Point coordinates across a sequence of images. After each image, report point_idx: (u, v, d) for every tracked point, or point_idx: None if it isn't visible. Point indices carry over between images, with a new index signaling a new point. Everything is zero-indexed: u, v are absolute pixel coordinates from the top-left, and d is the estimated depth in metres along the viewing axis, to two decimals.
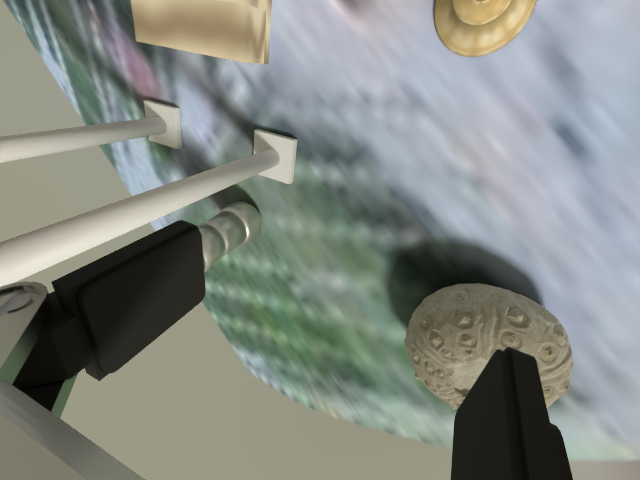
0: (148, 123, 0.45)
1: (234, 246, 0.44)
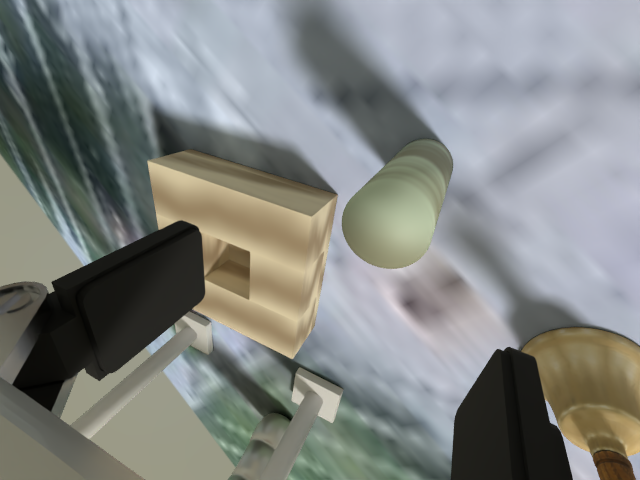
0: (179, 345, 0.42)
1: None
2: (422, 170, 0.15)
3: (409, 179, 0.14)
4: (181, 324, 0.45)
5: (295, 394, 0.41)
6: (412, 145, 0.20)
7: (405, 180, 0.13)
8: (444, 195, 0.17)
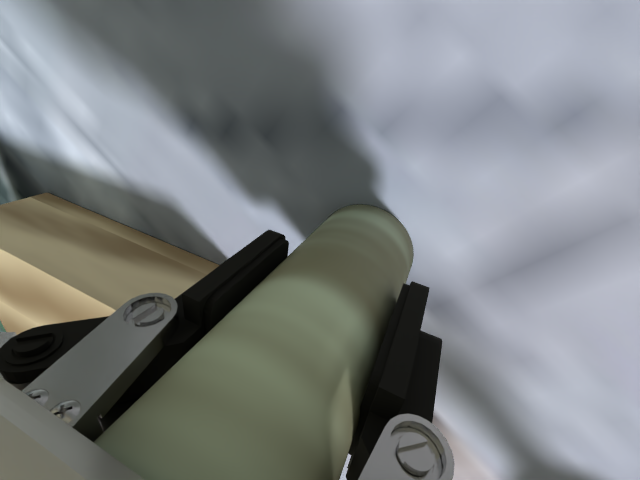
0: None
1: None
2: (295, 355, 0.06)
3: (204, 458, 0.04)
4: None
5: None
6: (331, 226, 0.11)
7: (181, 476, 0.04)
8: None
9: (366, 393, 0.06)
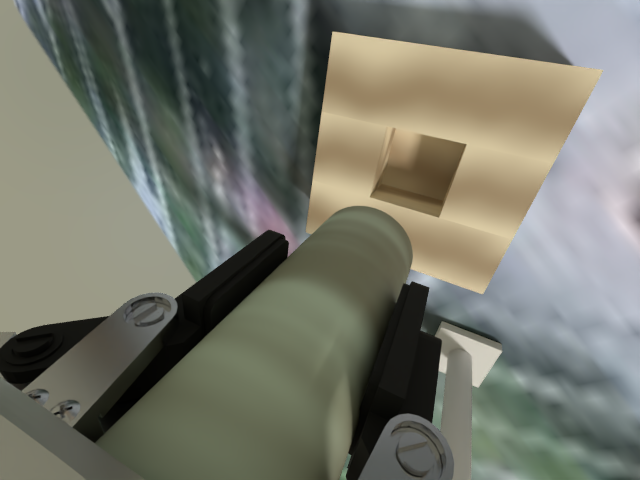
0: None
1: None
2: (293, 359, 0.06)
3: (202, 464, 0.04)
4: None
5: None
6: (330, 228, 0.10)
7: None
8: None
9: (366, 393, 0.06)
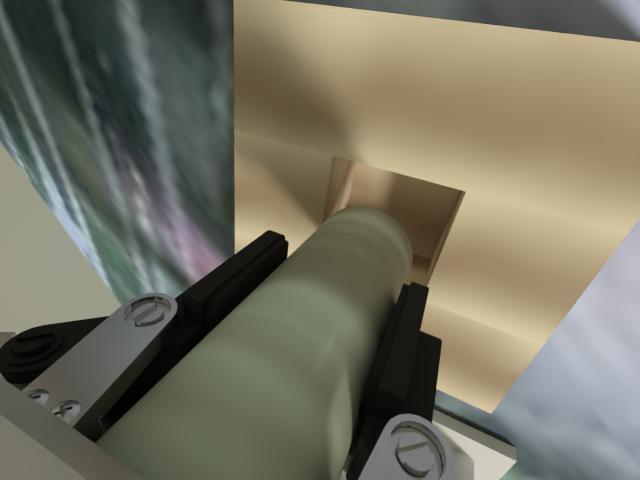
0: None
1: None
2: (292, 359, 0.06)
3: (201, 465, 0.04)
4: None
5: None
6: (330, 228, 0.10)
7: None
8: None
9: (366, 393, 0.06)
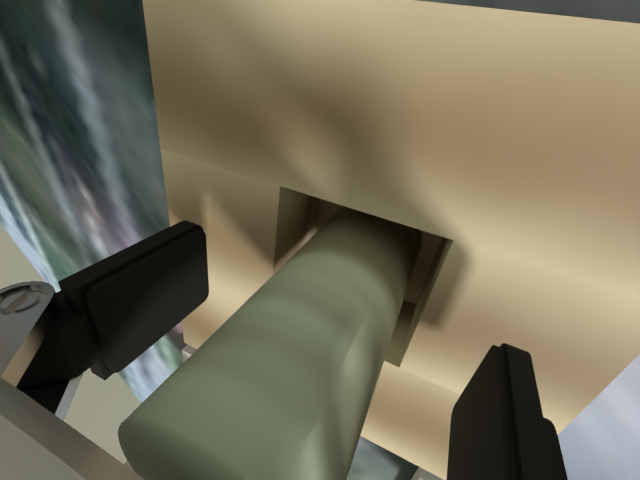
0: None
1: None
2: (330, 309, 0.07)
3: (272, 376, 0.05)
4: None
5: None
6: (348, 212, 0.12)
7: (256, 386, 0.05)
8: (392, 331, 0.09)
9: None
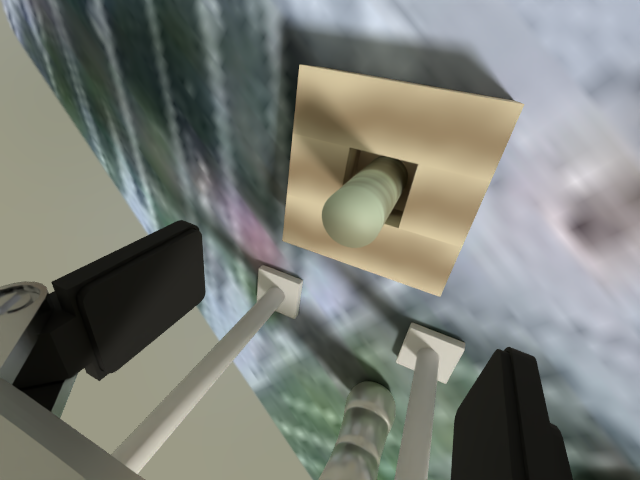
0: (272, 304, 0.38)
1: None
2: (377, 180, 0.22)
3: (366, 186, 0.20)
4: (266, 285, 0.42)
5: (403, 354, 0.37)
6: (375, 161, 0.27)
7: (363, 187, 0.20)
8: (396, 197, 0.24)
9: None
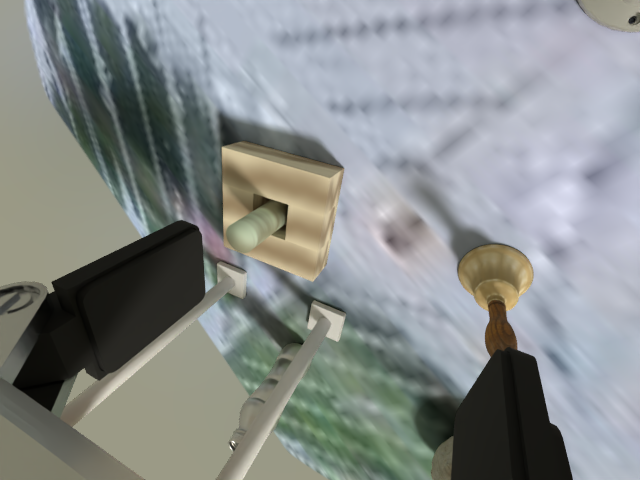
0: (223, 288, 0.57)
1: None
2: (259, 215, 0.40)
3: (248, 221, 0.38)
4: (223, 275, 0.60)
5: (310, 322, 0.55)
6: (271, 200, 0.45)
7: (246, 221, 0.38)
8: (275, 224, 0.42)
9: None
